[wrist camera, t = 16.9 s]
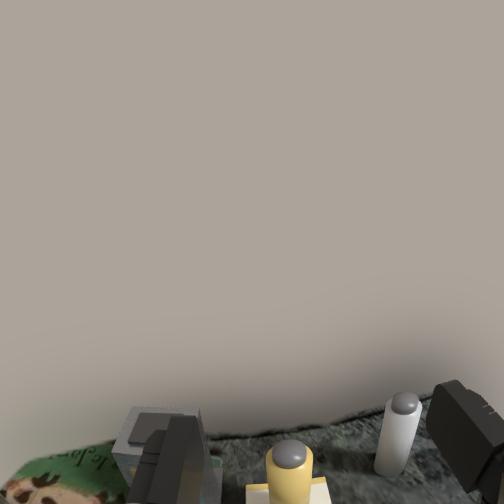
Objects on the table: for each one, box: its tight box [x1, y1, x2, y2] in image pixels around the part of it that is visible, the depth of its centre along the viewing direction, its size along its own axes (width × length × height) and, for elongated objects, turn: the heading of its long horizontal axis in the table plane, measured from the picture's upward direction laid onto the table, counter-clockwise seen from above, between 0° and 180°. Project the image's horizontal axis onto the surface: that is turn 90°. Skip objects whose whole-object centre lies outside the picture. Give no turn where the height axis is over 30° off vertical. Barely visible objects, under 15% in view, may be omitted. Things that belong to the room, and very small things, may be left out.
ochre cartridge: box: [266, 439, 313, 504], centre depth 27 cm, size 4×4×12 cm
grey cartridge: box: [374, 392, 422, 477], centre depth 32 cm, size 4×4×12 cm
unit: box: [111, 407, 224, 504], centre depth 30 cm, size 10×10×13 cm
